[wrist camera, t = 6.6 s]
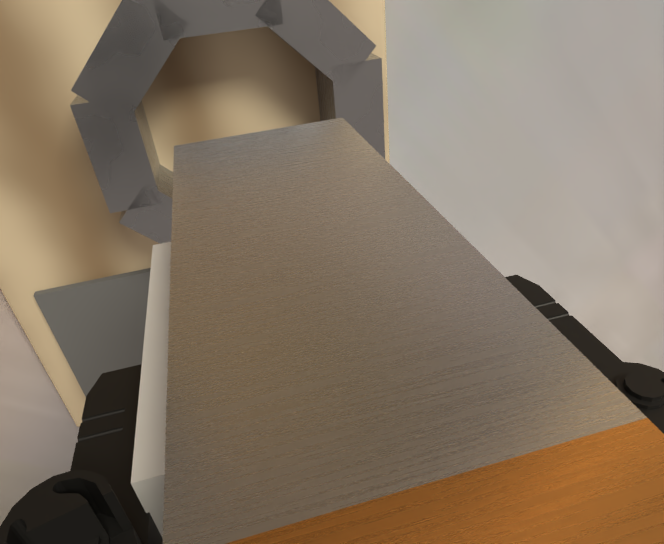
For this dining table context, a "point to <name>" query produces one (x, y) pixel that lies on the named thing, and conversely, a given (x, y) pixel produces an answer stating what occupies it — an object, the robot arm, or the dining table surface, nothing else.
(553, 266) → the dining table surface
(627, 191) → the dining table surface
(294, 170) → the block
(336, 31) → the grey octagonal ring
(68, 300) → the pad
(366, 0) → the board
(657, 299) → the dining table surface
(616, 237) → the dining table surface
